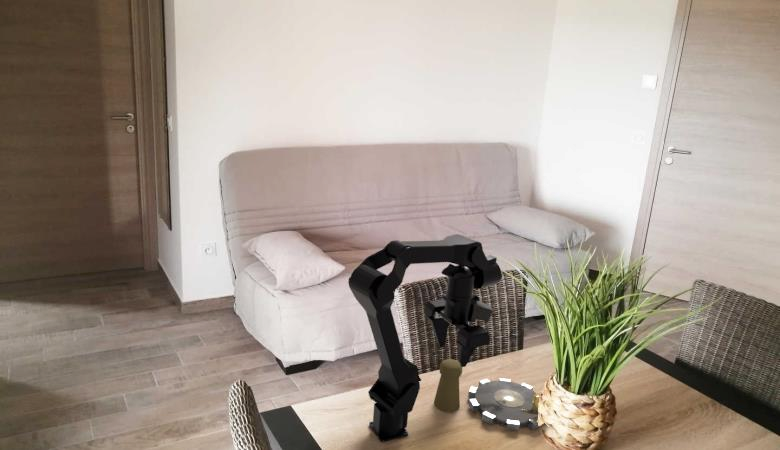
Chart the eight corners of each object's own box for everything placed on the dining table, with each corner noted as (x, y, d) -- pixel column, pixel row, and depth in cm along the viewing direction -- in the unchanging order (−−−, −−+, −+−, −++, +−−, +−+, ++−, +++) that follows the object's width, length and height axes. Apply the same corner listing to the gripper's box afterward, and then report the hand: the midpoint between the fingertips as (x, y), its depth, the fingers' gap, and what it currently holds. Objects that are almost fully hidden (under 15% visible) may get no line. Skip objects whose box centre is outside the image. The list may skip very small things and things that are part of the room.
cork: (458, 414, 131) (463, 371, 128) (432, 409, 132) (436, 366, 129) (460, 399, 137) (466, 358, 134) (435, 395, 138) (440, 353, 135)
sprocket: (524, 442, 123) (528, 418, 121) (452, 405, 134) (455, 382, 132) (562, 407, 136) (566, 385, 135) (494, 376, 148) (497, 355, 146)
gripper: (515, 305, 122) (506, 371, 127) (467, 273, 138) (459, 333, 143) (471, 311, 118) (463, 380, 122) (426, 278, 133) (420, 339, 138)
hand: (452, 356), depth 131 cm, fingers open, 9 cm apart
